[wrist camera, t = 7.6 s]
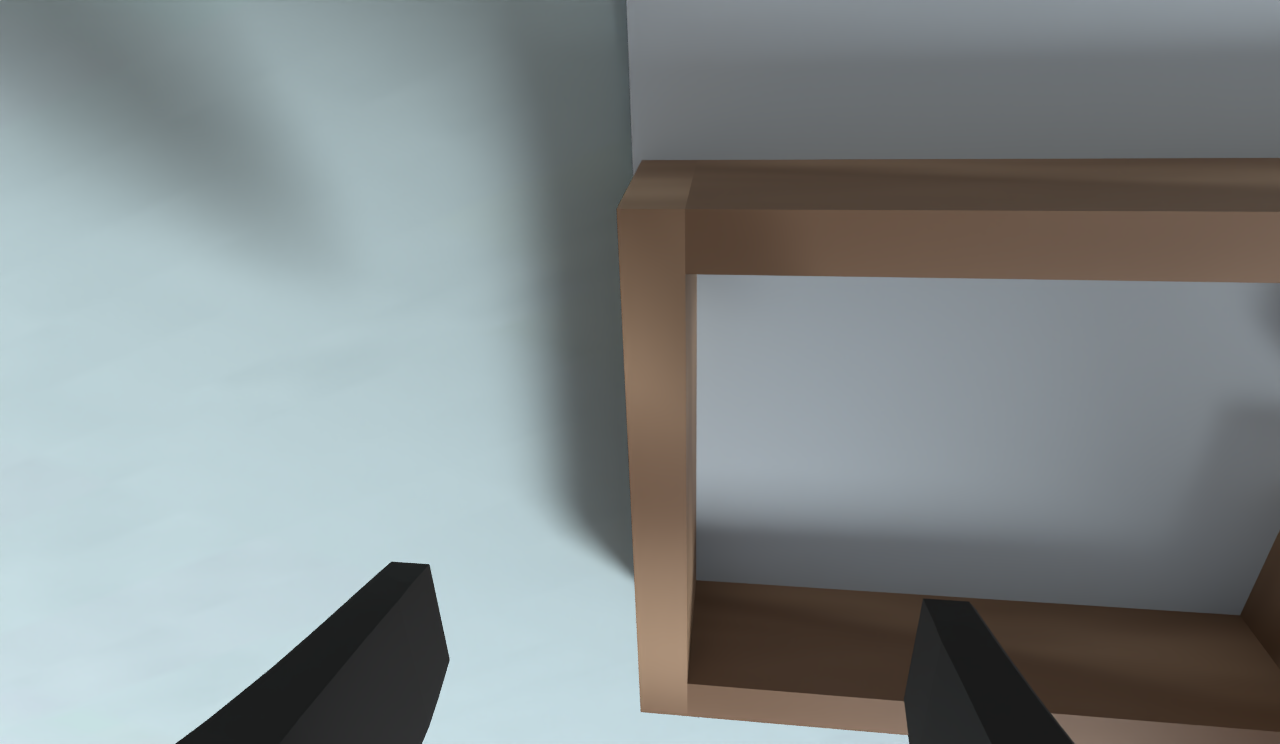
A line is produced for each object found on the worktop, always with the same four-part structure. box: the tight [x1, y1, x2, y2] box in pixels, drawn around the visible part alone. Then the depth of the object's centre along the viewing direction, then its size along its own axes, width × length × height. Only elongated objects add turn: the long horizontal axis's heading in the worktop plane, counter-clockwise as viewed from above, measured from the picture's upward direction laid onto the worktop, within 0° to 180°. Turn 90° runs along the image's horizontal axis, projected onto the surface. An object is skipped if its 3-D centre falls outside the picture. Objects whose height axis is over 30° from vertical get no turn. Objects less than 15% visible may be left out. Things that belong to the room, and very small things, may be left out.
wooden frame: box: [617, 158, 1280, 744], centre depth 14 cm, size 11×14×3 cm
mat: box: [626, 0, 1280, 615], centre depth 16 cm, size 18×15×1 cm
